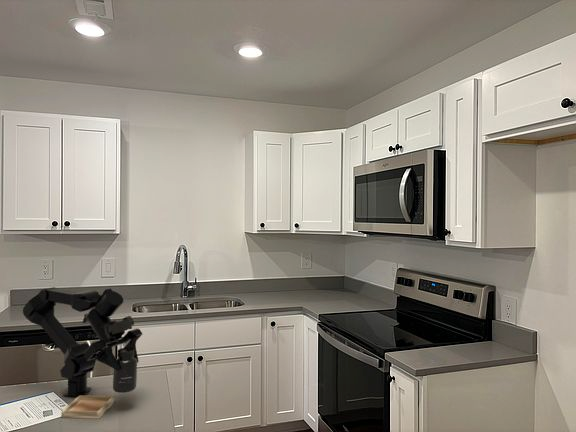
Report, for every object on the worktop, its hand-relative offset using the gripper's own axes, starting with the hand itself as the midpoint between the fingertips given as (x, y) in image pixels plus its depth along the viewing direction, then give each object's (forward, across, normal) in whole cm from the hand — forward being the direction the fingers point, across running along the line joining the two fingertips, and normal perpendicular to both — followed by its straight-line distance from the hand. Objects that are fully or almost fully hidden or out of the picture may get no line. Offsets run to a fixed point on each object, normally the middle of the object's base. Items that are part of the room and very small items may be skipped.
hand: (128, 366), depth 138 cm
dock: (+2, -6, +16) cm, 17 cm away
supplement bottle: (+4, 0, +6) cm, 7 cm away
